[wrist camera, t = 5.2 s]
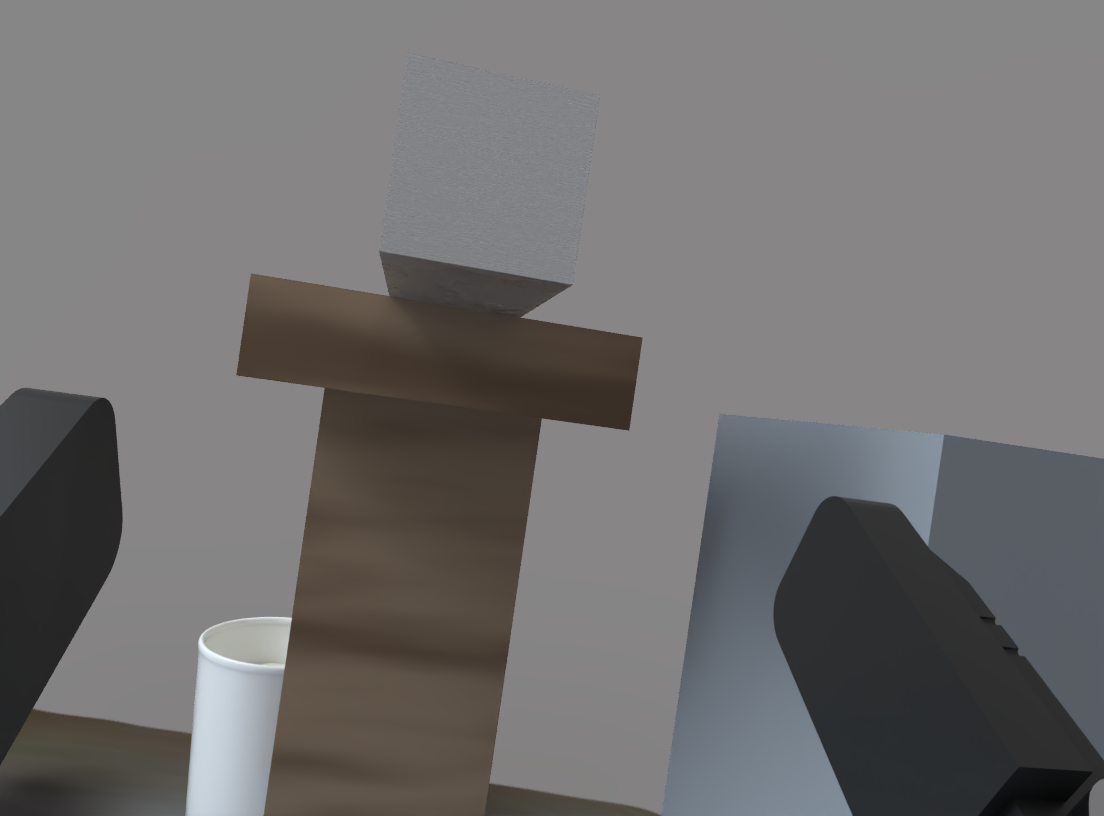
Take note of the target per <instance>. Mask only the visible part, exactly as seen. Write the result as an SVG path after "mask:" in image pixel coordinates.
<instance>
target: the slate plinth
mask: <svg viewBox="0 0 1104 816" xmlns="http://www.w3.org/2000/svg"><path fill="white" fill-rule="evenodd" d="M831 496H838V497H845V498H853V499H861V500H868V501H876V502H883V503H891V504H893V505H895V506H897V507H898V508H899V509H900V510H901V511H902V512H903V513H904V515H905V516H906V517H907V519H908V520H909V522H910V523H911V524H912V526H913V527H914V528H915V530H916V531H917V532H918V534H919V535H920V536H921V538H922V539H923V541H924V542H925V543H926V545H927V546H928V547H929V549H930V550H931V551H932V552H934V553H935V554H936V555H937V556H938V557H939V558H941V559H942V560H943V561H944V562H945V563H947V564H948V565H949V566H950V567H951V568H953V569H954V570H955V571H956V572H957V573H958V574H960V575H961V576H962V577H963V578H964V579H966V580H967V581H968V582H969V583H970V585H971V586H972V587H973V588H974V590H975V591H976V592H977V594H978V595H979V596H980V598H981V599H982V600H983V602H984V603H985V604H986V606H987V607H988V608H989V610H990V611H991V612H992V614H993V615H994V616H995V617H996V619H995V623H996V625H1002V627H1003V628H1004V629H1005V631H1006V632H1007V633H1008V635H1009V636H1010V637H1011V639H1012V640H1013V641H1014V642H1015V644H1016V645H1017V646H1018V648H1019V649H1018V654H1019V656H1025V657H1026V658H1027V660H1028V661H1029V662H1030V664H1031V665H1032V666H1033V667H1034V669H1035V670H1036V671H1037V673H1038V674H1039V675H1040V677H1041V678H1042V679H1043V681H1044V682H1045V683H1046V685H1047V686H1048V687H1049V689H1050V690H1051V691H1052V693H1053V694H1054V695H1055V696H1056V698H1057V699H1058V700H1059V702H1060V703H1061V704H1062V706H1063V707H1064V708H1065V710H1066V711H1067V712H1068V714H1069V715H1070V716H1071V718H1072V719H1073V720H1074V721H1075V723H1076V724H1077V725H1078V727H1079V728H1080V729H1081V731H1082V732H1083V733H1084V735H1085V736H1086V737H1087V739H1088V740H1089V741H1090V743H1091V744H1092V745H1093V747H1094V748H1095V749H1096V750H1097V752H1098V753H1099V754H1100V756H1101V757H1102V758H1103V760H1104V459H1102V458H1094V457H1088V456H1082V455H1075V454H1069V453H1062V452H1055V451H1049V450H1042V449H1035V448H1028V447H1022V446H1015V445H1009V444H1002V443H996V442H989V441H982V440H976V439H969V438H963V437H956V436H949V435H942V434H931V433H920V432H910V431H899V430H888V429H877V428H865V427H855V426H844V425H833V424H823V423H811V422H801V421H790V420H779V419H768V418H757V417H746V416H736V415H725V414H720V415H719V422H718V429H717V436H716V442H715V450H714V456H713V463H712V470H711V477H710V485H709V492H708V498H707V505H706V512H705V519H704V525H703V532H702V539H701V547H700V553H699V561H698V567H697V574H696V582H695V588H694V595H693V602H692V609H691V615H690V623H689V629H688V636H687V644H686V650H685V657H684V664H683V671H682V678H681V685H680V692H679V699H678V706H677V713H676V719H675V726H674V733H673V740H672V747H671V754H670V761H669V768H668V775H667V782H666V789H665V796H664V803H663V809H662V816H852V813H851V811H850V809H849V806H848V804H847V802H846V799H845V797H844V795H843V792H842V790H841V788H840V785H839V783H838V781H837V778H836V776H835V774H834V771H833V769H832V767H831V764H830V762H829V759H828V757H827V755H826V752H825V750H824V748H823V745H822V743H821V741H820V738H819V736H818V734H817V731H816V729H815V727H814V724H813V722H812V720H811V717H810V715H809V713H808V710H807V708H806V706H805V703H804V701H803V699H802V696H801V694H800V692H799V689H798V687H797V685H796V682H795V680H794V678H793V675H792V673H791V671H790V668H789V666H788V663H787V661H786V659H785V656H784V654H783V652H782V649H781V647H780V645H779V642H778V640H777V637H776V633H775V628H774V619H773V609H774V601H775V596H776V592H777V589H778V587H779V584H780V582H781V580H782V578H783V576H784V574H785V572H786V570H787V568H788V566H789V564H790V562H791V560H792V558H793V556H794V554H795V552H796V550H797V548H798V546H799V544H800V542H801V540H802V537H803V535H804V533H805V531H806V529H807V527H808V525H809V523H810V521H811V519H812V517H813V515H814V513H815V511H816V509H817V508H818V506H819V505H820V504H821V502H822V501H824V500H825V499H826V498H828V497H831Z"/></svg>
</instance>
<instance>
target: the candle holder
mask: <svg viewBox="0 0 1104 816" xmlns="http://www.w3.org/2000/svg"><path fill="white" fill-rule="evenodd" d="M291 621H292V618H285V617H256V618H245V619H237V620H233V621H228V622H224V623H220V624H217V625H215V626H213V627H211V628H209V629H207V630H206V631H204V632H203V633H202V635H201V636H200V639H199V641H198V649H199V656H198V668H197V680H196V692H195V704H194V715H193V727H192V739H191V751H190V763H189V775H188V787H187V800H186V816H264V809H265V802H266V795H267V788H268V781H269V774H270V767H271V760H272V753H273V746H274V739H275V732H276V725H277V718H278V711H279V704H280V697H281V690H282V683H283V676H284V669H285V663H286V656H287V649H288V642H289V635H290V628H291Z"/></svg>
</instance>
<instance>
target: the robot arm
mask: <svg viewBox="0 0 1104 816" xmlns="http://www.w3.org/2000/svg"><path fill="white" fill-rule="evenodd" d="M116 438H117V437H116V424H115V415H114V411H113V408H112V405H111V403H110V402H109V401H108V400H107V399H105V398H100V397H92V396H84V395H77V394H69V393H61V392H53V391H46V390H39V389H31V388H21V389H19V390H17V391H15V392H14V393H13V394H12V395H11V396H10V397H9V398H8V399H7V400H6V401H5V402H4V403H3V404H2V405H1V406H0V765H1V763H2V761H3V759H4V758H5V756H6V754H7V752H8V751H9V749H10V747H11V745H12V744H13V742H14V740H15V738H16V737H17V735H18V733H19V731H20V730H21V728H22V726H23V724H24V723H25V721H26V719H27V717H28V716H29V714H30V712H31V710H32V709H33V707H34V705H35V703H36V701H37V700H38V698H39V696H40V695H41V693H42V691H43V689H44V688H45V686H46V684H47V682H48V680H49V679H50V677H51V675H52V674H53V672H54V670H55V668H56V666H57V665H58V663H59V661H60V659H61V658H62V656H63V654H64V653H65V651H66V649H67V647H68V645H69V644H70V642H71V640H72V638H73V637H74V635H75V633H76V631H77V630H78V628H79V626H80V624H81V623H82V621H83V619H84V617H85V616H86V614H87V612H88V610H89V609H90V607H91V605H92V603H93V602H94V600H95V598H96V596H97V595H98V593H99V591H100V589H101V588H102V586H103V584H104V582H105V581H106V579H107V577H108V575H109V573H110V571H111V569H112V566H113V564H114V561H115V558H116V555H117V551H118V548H119V544H120V538H121V532H122V502H121V491H120V490H121V489H120V476H119V463H118V451H117V439H116ZM773 619H774V628H775V633H776V637H777V640H778V642H779V645H780V647H781V649H782V652H783V654H784V656H785V659H786V661H787V663H788V666H789V668H790V671H791V673H792V675H793V678H794V680H795V682H796V685H797V687H798V689H799V692H800V694H801V696H802V699H803V701H804V703H805V706H806V708H807V710H808V713H809V715H810V717H811V720H812V722H813V724H814V727H815V729H816V731H817V734H818V736H819V738H820V741H821V743H822V745H823V748H824V750H825V752H826V755H827V757H828V759H829V762H830V764H831V767H832V769H833V771H834V774H835V776H836V778H837V781H838V783H839V785H840V788H841V790H842V792H843V795H844V797H845V799H846V802H847V804H848V806H849V809H850V811H851V813H852V816H1104V760H1103V758H1102V757H1101V756H1100V754H1099V753H1098V752H1097V750H1096V749H1095V748H1094V747H1093V745H1092V744H1091V743H1090V741H1089V740H1088V739H1087V737H1086V736H1085V735H1084V733H1083V732H1082V731H1081V729H1080V728H1079V727H1078V725H1077V724H1076V723H1075V721H1074V720H1073V719H1072V718H1071V716H1070V715H1069V714H1068V712H1067V711H1066V710H1065V708H1064V707H1063V706H1062V704H1061V703H1060V702H1059V700H1058V699H1057V698H1056V696H1055V695H1054V694H1053V693H1052V691H1051V690H1050V689H1049V687H1048V686H1047V685H1046V683H1045V682H1044V681H1043V679H1042V678H1041V677H1040V675H1039V674H1038V673H1037V671H1036V670H1035V669H1034V667H1033V666H1032V665H1031V664H1030V662H1029V661H1028V660H1027V658H1026V657H1025V656H1019V654H1018V649H1019V648H1018V646H1017V645H1016V644H1015V642H1014V641H1013V640H1012V639H1011V637H1010V636H1009V635H1008V633H1007V632H1006V631H1005V629H1004V628H1003V627H1002V625H996V623H995V619H996V617H995V616H994V615H993V614H992V612H991V611H990V610H989V608H988V607H987V606H986V604H985V603H984V602H983V600H982V599H981V598H980V596H979V595H978V594H977V592H976V591H975V590H974V588H973V587H972V586H971V585H970V583H969V582H968V581H967V580H966V579H964V578H963V577H962V576H961V575H960V574H958V573H957V572H956V571H955V570H954V569H953V568H951V567H950V566H949V565H948V564H947V563H945V562H944V561H943V560H942V559H941V558H939V557H938V556H937V555H936V554H935V553H934V552H932V551H931V550H930V549H929V547H928V546H927V545H926V543H925V542H924V541H923V539H922V538H921V536H920V535H919V534H918V532H917V531H916V530H915V528H914V527H913V526H912V524H911V523H910V522H909V520H908V519H907V517H906V516H905V515H904V513H903V512H902V511H901V510H900V509H899V508H898V507H897V506H895V505H893V504H891V503H883V502H876V501H868V500H861V499H853V498H845V497H838V496H831V497H828V498H826V499H825V500H824V501H822V502H821V504H820V505H819V506H818V508H817V509H816V511H815V513H814V515H813V517H812V519H811V521H810V523H809V525H808V527H807V529H806V531H805V533H804V535H803V537H802V540H801V542H800V544H799V546H798V548H797V550H796V552H795V554H794V556H793V558H792V560H791V562H790V564H789V566H788V568H787V570H786V572H785V574H784V576H783V578H782V580H781V582H780V584H779V587H778V589H777V592H776V596H775V601H774V609H773Z"/></svg>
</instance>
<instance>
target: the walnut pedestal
mask: <svg viewBox="0 0 1104 816" xmlns="http://www.w3.org/2000/svg"><path fill="white" fill-rule="evenodd" d="M641 344H642V338H641V337H634V336H629V335H623V334H617V333H611V332H605V331H598V330H592V329H586V328H580V327H574V326H567V325H562V324H555V323H550V322H543V321H538V320H531V319H525V318H519V317H513V316H507V315H501V314H495V313H489V312H483V311H476V310H470V309H464V308H458V307H452V306H446V305H440V304H434V303H428V302H422V301H415V300H409V299H403V298H397V297H391V296H385V295H379V294H373V293H366V292H361V291H354V290H348V289H342V288H336V287H330V286H324V285H318V284H311V283H305V282H299V281H293V280H287V279H281V278H275V277H268V276H263V275H257V274H251V277H250V284H249V292H248V299H247V306H246V312H245V320H244V326H243V334H242V340H241V347H240V354H239V362H238V368H237V375H238V376H245V377H252V378H259V379H267V380H274V381H281V382H288V383H295V384H302V385H309V386H317V387H323V388H325V390H324V397H323V405H322V411H321V418H320V425H319V432H318V439H317V446H316V453H315V460H314V467H313V474H312V481H311V488H310V495H309V503H308V509H307V516H306V523H305V530H304V537H303V544H302V551H301V558H300V565H299V572H298V579H297V586H296V593H295V600H294V607H293V615H292V621H291V628H290V635H289V642H288V649H287V656H286V663H285V669H284V676H283V683H282V690H281V697H280V704H279V711H278V718H277V725H276V732H275V739H274V746H273V753H272V760H271V767H270V774H269V781H268V788H267V795H266V802H265V809H264V816H485V809H486V802H487V795H488V788H489V781H490V774H491V767H492V760H493V753H494V746H495V739H496V732H497V725H498V718H499V711H500V705H501V698H502V691H503V683H504V676H505V670H506V663H507V656H508V649H509V642H510V635H511V628H512V621H513V613H514V607H515V600H516V593H517V586H518V579H519V572H520V566H521V558H522V551H523V544H524V538H525V531H526V524H527V516H528V510H529V503H530V496H531V489H532V482H533V475H534V468H535V461H536V455H537V447H538V440H539V434H540V427H541V420H542V418H544V419H551V420H558V421H566V422H572V423H580V424H586V425H594V426H601V427H608V428H615V429H622V430H629V428H630V420H631V414H632V407H633V400H634V393H635V386H636V379H637V372H638V365H639V358H640V350H641Z"/></svg>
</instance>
